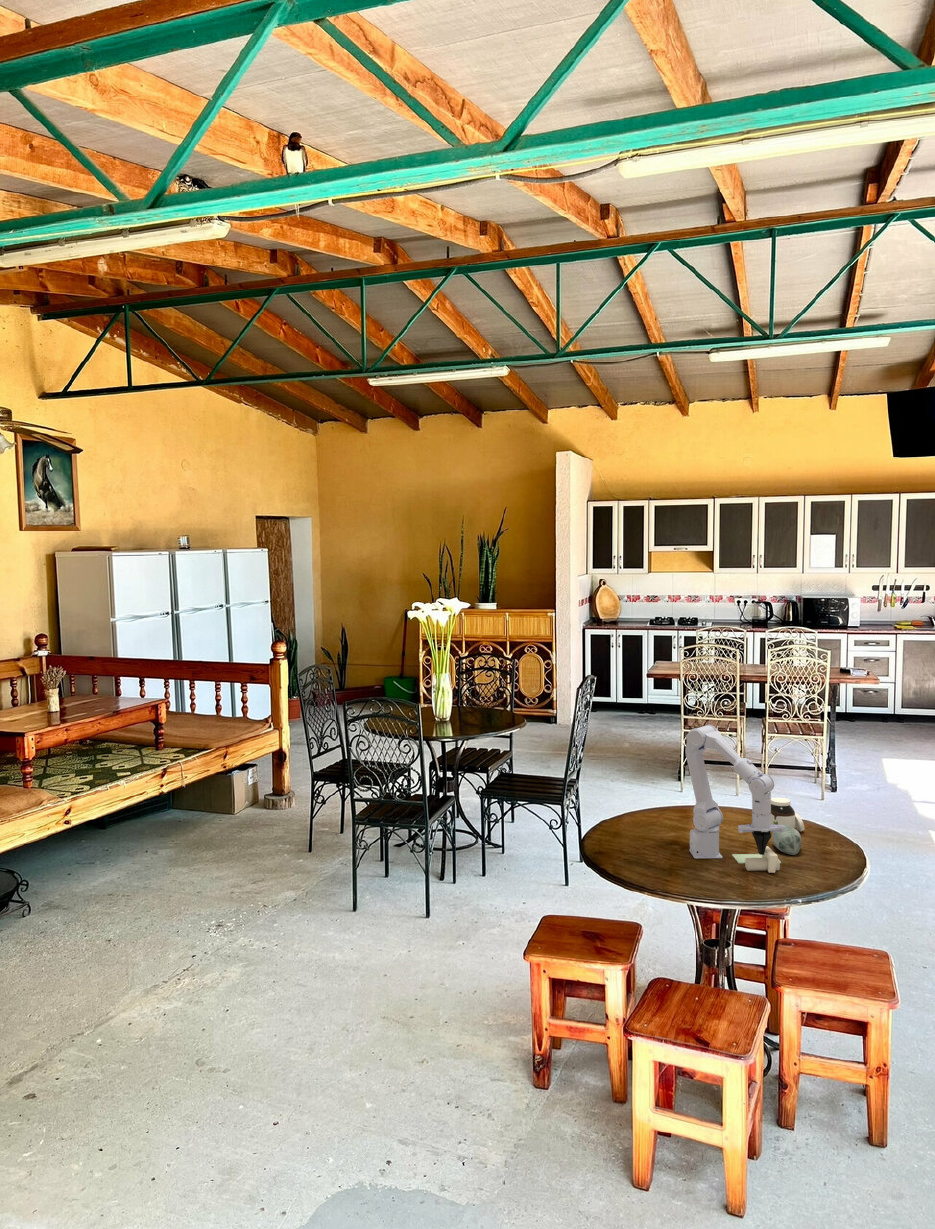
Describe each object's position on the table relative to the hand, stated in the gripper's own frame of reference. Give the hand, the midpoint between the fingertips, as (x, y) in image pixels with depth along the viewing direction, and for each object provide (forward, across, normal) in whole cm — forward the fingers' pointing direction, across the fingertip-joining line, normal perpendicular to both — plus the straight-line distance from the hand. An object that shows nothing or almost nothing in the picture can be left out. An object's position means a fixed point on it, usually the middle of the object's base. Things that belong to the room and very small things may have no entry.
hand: (761, 853), depth 282 cm
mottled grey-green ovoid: (+6, +14, +18) cm, 24 cm away
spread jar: (+6, +21, +39) cm, 45 cm away
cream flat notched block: (+5, +2, 0) cm, 6 cm away
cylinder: (+5, 0, 0) cm, 5 cm away
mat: (+5, +1, +10) cm, 11 cm away
